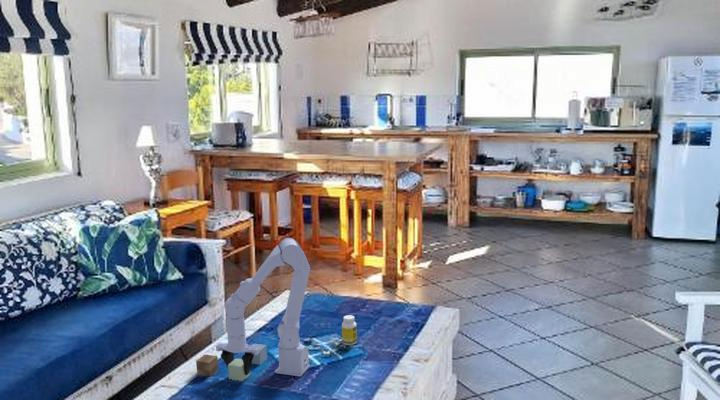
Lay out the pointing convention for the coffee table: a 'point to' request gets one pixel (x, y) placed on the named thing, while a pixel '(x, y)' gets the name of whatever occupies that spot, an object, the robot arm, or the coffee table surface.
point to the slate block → (260, 354)
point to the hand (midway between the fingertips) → (239, 372)
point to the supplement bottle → (349, 330)
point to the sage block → (237, 370)
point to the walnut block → (207, 365)
